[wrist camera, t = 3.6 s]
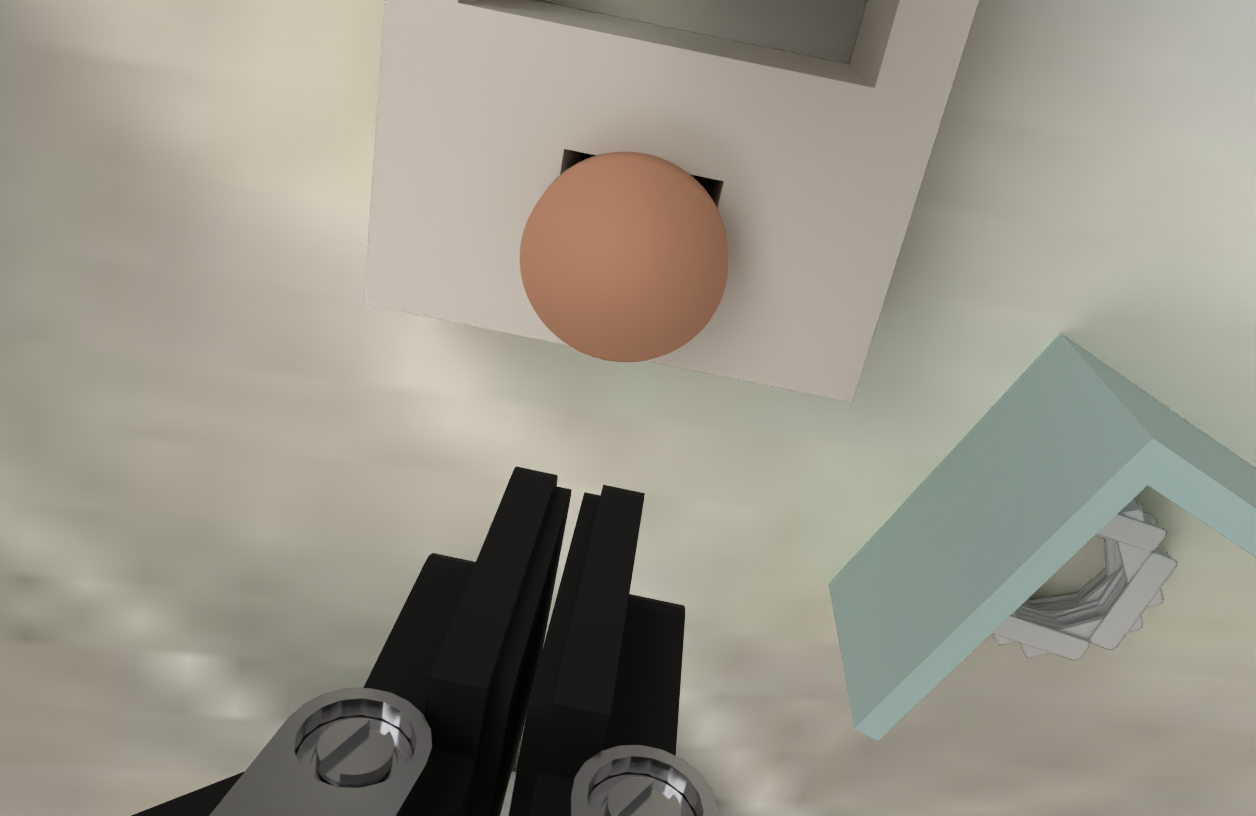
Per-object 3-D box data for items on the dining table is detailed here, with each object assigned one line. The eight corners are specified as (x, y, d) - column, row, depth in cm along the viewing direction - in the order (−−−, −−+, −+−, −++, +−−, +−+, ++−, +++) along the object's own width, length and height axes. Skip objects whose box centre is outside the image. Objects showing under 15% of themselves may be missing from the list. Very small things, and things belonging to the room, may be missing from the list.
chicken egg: (705, 308, 31) (703, 379, 26) (540, 275, 31) (507, 340, 26) (743, 140, 28) (750, 183, 23) (566, 104, 28) (535, 139, 23)
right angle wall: (828, 582, 37) (854, 728, 30) (1059, 331, 32) (1152, 438, 25) (1074, 730, 39) (1151, 898, 32) (1326, 517, 34) (1479, 661, 27)
